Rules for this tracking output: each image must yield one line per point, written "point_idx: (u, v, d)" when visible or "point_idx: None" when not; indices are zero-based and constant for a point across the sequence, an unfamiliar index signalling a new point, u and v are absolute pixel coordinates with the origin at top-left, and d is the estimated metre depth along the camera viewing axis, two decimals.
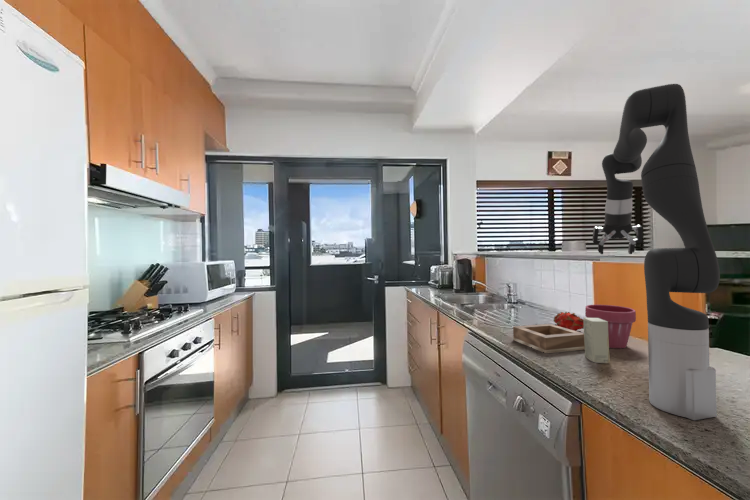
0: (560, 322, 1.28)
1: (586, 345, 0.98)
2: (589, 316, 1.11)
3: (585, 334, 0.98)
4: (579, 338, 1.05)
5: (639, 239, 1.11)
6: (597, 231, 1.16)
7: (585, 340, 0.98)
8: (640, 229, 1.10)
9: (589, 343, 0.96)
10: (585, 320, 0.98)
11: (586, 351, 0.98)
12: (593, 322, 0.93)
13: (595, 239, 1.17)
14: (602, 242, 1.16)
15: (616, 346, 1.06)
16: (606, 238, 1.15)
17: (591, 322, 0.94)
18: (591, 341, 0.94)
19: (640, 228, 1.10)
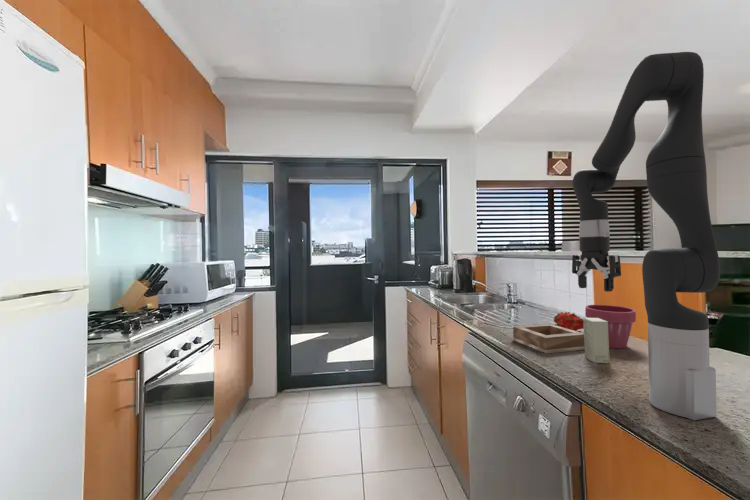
0: (560, 322, 1.28)
1: (586, 345, 0.98)
2: (589, 316, 1.11)
3: (585, 334, 0.98)
4: (579, 338, 1.05)
5: (611, 272, 0.90)
6: (574, 258, 1.01)
7: (585, 340, 0.98)
8: (611, 259, 0.90)
9: (589, 343, 0.96)
10: (585, 320, 0.98)
11: (586, 351, 0.98)
12: (593, 322, 0.93)
13: (573, 268, 1.02)
14: (579, 272, 1.00)
15: (616, 346, 1.06)
16: (580, 267, 0.99)
17: (591, 322, 0.94)
18: (591, 341, 0.94)
19: (611, 257, 0.90)
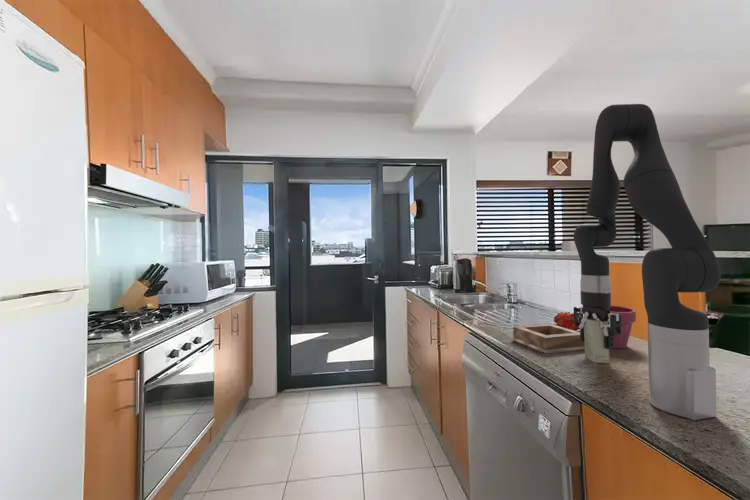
0: (560, 322, 1.28)
1: (586, 345, 0.98)
2: None
3: (585, 334, 0.98)
4: (579, 338, 1.05)
5: (611, 331, 0.90)
6: (575, 311, 1.01)
7: (585, 340, 0.98)
8: (612, 318, 0.89)
9: (589, 343, 0.96)
10: None
11: (586, 351, 0.98)
12: (593, 322, 0.93)
13: (575, 320, 1.02)
14: (581, 326, 0.99)
15: (616, 346, 1.06)
16: (582, 320, 0.98)
17: (591, 322, 0.94)
18: (591, 341, 0.94)
19: (612, 316, 0.89)
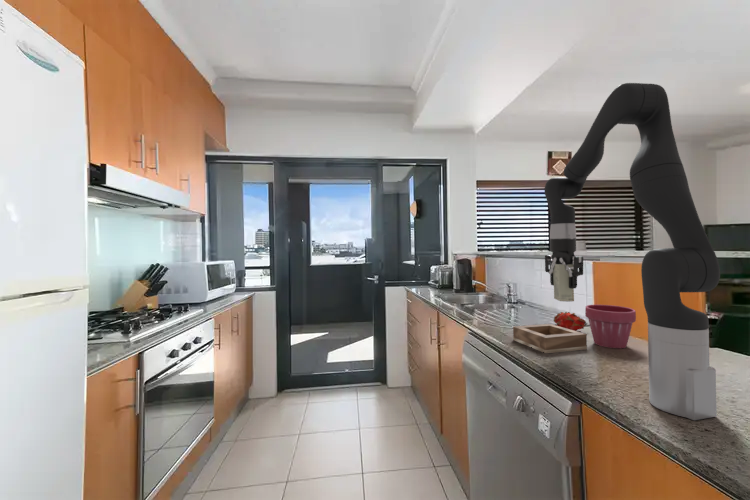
0: (560, 322, 1.28)
1: (555, 288, 1.08)
2: (589, 316, 1.11)
3: (554, 278, 1.09)
4: (579, 338, 1.05)
5: (574, 271, 1.01)
6: (546, 258, 1.12)
7: (554, 283, 1.09)
8: (575, 259, 1.00)
9: (556, 285, 1.07)
10: None
11: (555, 293, 1.09)
12: (560, 265, 1.04)
13: (546, 267, 1.12)
14: (551, 271, 1.10)
15: (616, 346, 1.06)
16: (551, 266, 1.09)
17: (558, 265, 1.05)
18: (558, 283, 1.05)
19: (575, 258, 1.00)
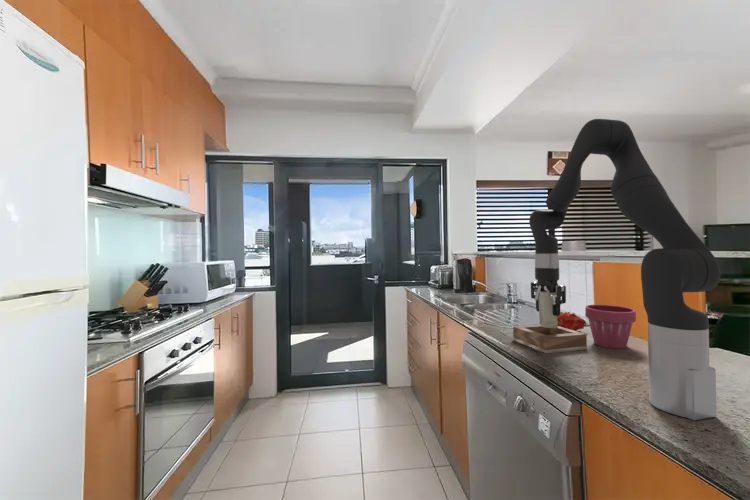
0: (560, 322, 1.28)
1: (540, 314, 1.14)
2: (589, 316, 1.11)
3: (539, 305, 1.14)
4: (579, 338, 1.05)
5: (557, 299, 1.06)
6: (532, 285, 1.17)
7: (539, 310, 1.14)
8: (558, 288, 1.06)
9: (541, 311, 1.12)
10: None
11: (540, 319, 1.14)
12: (544, 293, 1.09)
13: (532, 294, 1.18)
14: (536, 298, 1.15)
15: (616, 346, 1.06)
16: (536, 293, 1.15)
17: (542, 293, 1.10)
18: (543, 310, 1.10)
19: (558, 287, 1.06)
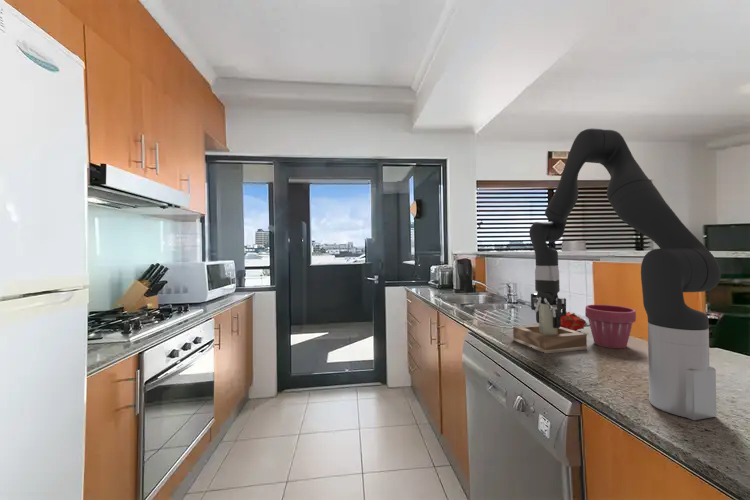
0: None
1: (540, 326, 1.14)
2: (589, 316, 1.11)
3: (539, 316, 1.14)
4: (579, 338, 1.05)
5: (558, 312, 1.06)
6: (532, 297, 1.17)
7: (539, 322, 1.14)
8: (558, 301, 1.06)
9: (541, 323, 1.12)
10: None
11: (540, 331, 1.14)
12: (544, 305, 1.09)
13: (532, 305, 1.18)
14: (536, 309, 1.15)
15: (616, 346, 1.06)
16: (537, 305, 1.15)
17: (543, 305, 1.10)
18: (543, 322, 1.10)
19: (558, 300, 1.06)
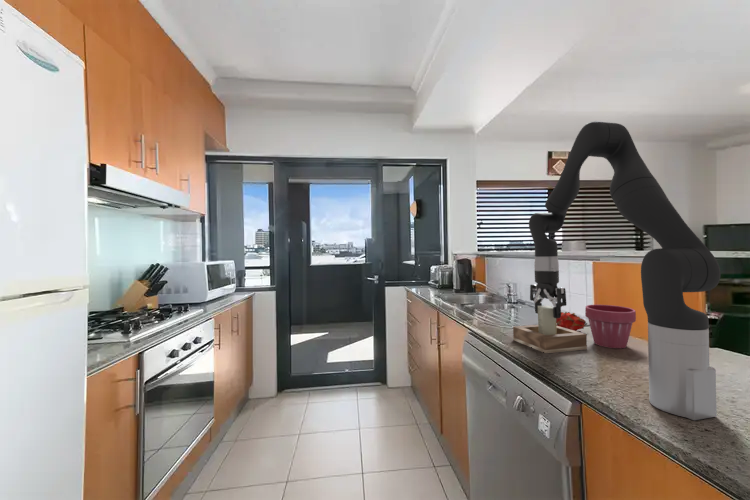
0: (560, 322, 1.28)
1: (539, 329, 1.14)
2: (589, 316, 1.11)
3: (538, 320, 1.14)
4: (579, 338, 1.05)
5: (558, 302, 1.06)
6: (531, 287, 1.18)
7: (538, 325, 1.14)
8: (558, 291, 1.06)
9: (541, 327, 1.12)
10: (538, 307, 1.14)
11: None
12: (543, 309, 1.10)
13: (531, 296, 1.18)
14: (535, 300, 1.16)
15: (616, 346, 1.06)
16: (536, 296, 1.15)
17: (542, 309, 1.10)
18: (542, 325, 1.10)
19: (557, 290, 1.06)
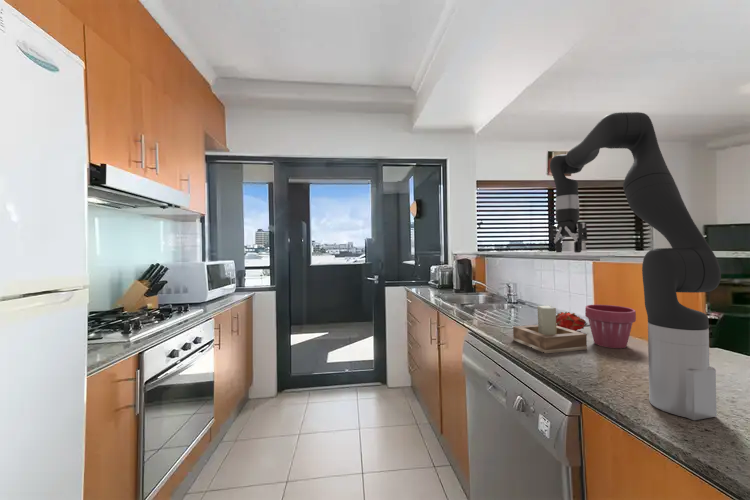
0: (560, 322, 1.28)
1: (539, 329, 1.14)
2: (589, 316, 1.11)
3: (538, 320, 1.14)
4: (579, 338, 1.05)
5: (579, 236, 1.11)
6: (552, 228, 1.23)
7: (538, 325, 1.14)
8: (579, 225, 1.11)
9: (541, 327, 1.12)
10: (538, 308, 1.14)
11: None
12: (543, 309, 1.10)
13: (551, 236, 1.24)
14: (555, 239, 1.22)
15: (616, 346, 1.06)
16: (556, 235, 1.21)
17: (542, 309, 1.10)
18: (542, 325, 1.11)
19: (579, 224, 1.11)
